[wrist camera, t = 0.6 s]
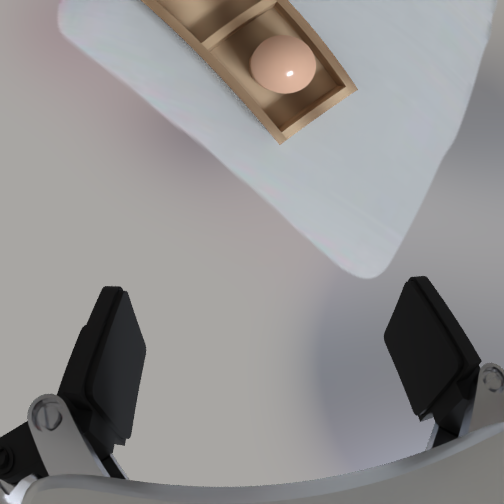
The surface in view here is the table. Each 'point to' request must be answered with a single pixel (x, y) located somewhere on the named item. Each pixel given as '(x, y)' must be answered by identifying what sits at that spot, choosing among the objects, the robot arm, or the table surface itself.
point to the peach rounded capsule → (282, 64)
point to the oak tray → (244, 44)
